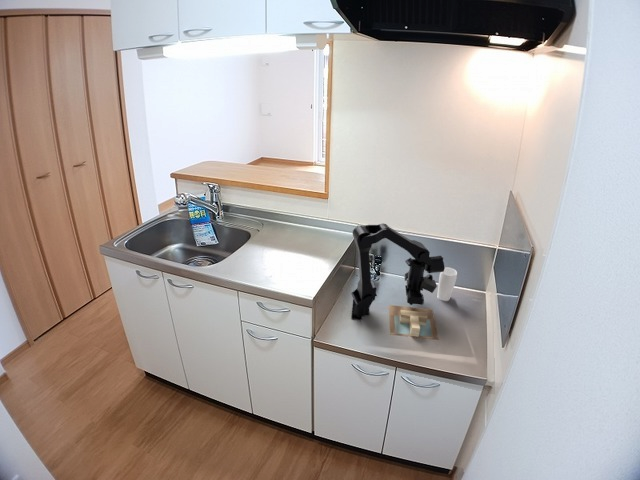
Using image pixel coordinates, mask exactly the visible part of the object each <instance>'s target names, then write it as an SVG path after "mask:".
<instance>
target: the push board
mask: <svg viewBox="0 0 640 480" xmlns="http://www.w3.org/2000/svg"><path fill="white" fill-rule="evenodd" d="M401 310H406V311H417V312H426V313H427V322H426V325H420V332H419V337H416V336H410V328H409V324H408V323H400V312H401ZM388 314H389V315H388V316H389V318H388V319H389V320H388V321H389V335H392V336H400V337H410V338H411V337H412V338H419V339H429V340H438V341H439V340H440V339H439V338H440V337H439V334H438V330H437V324H436V320H435V316H434V310H433V309H431V308H423V307H422V308H421V307H412V306H400V305H391V304H388Z"/></svg>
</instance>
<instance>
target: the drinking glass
mask: <svg viewBox="0 0 640 480" xmlns="http://www.w3.org/2000/svg"><path fill="white" fill-rule="evenodd" d="M444 267H445V269H444V271H443V272H439V276H438V285H437V294H436V296H437V299H438V300H440V301H442V302H448V301H450V299H451V296H452V294H453V289H454V287H455V284H456V281H457V276H458V271H457V270H456V269H455V268H453V267H447V266H444Z"/></svg>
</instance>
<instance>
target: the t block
mask: <svg viewBox="0 0 640 480" xmlns="http://www.w3.org/2000/svg"><path fill="white" fill-rule="evenodd" d="M426 322H427V313H426V312H417V311H406V310H401V312H400V323H408V324H409V328H410V336H416V337H415V338H418V337H419V332H420V325H426Z"/></svg>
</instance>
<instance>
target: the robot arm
mask: <svg viewBox="0 0 640 480" xmlns="http://www.w3.org/2000/svg"><path fill="white" fill-rule="evenodd" d="M352 237H353V240H354V243H355V246H356V249H357V258H358V262H357V263H358V273H359V281H358V283H357V287H356V288H355V290H353V291H352V292H351V297H352V306H351V307H352V308H351V317H350V318H351V319H352V320H363V317H364V316H369V315H370V307H371V305H372V304H373V302H374V301H376V297H377V296H378V295H377V286H376V284H375V282H374V281H373V279H372V277H371V262H370V261H371V260H370V250H371V249H372V247H373V246H372V245H374V244H377V243H378V242H380V241H382V240H384V239H387V240H389V241H390V242H391V243H393V244H395V245H397V246H398V247H399V248H401V249H403V250H405V251H406V252H408V254H410V255H411V256H412V257H409V258H408V259H406V260H405V263H406V265H407V266H408V267H409V268H408V269H409V270H408V271H407V272H406V273H404V277H403V278H404V282H406V284H405V285H404V287H405V295H406V303H408V304H409V306H412V305H420V306H423V305H424V302H425V299H424V298H425V297H424V294H423V293H422V292H421V291H423V290H426V291H427V292H429V293H431V294H433V292H435V290H436V289H437V288H438V285H437V282H436V281H435V279H434V277H433V274H437V273H440V272H443V271H444V269H445V267H446V266H445V262H444V257H443V256H442V255H437V256H436V255H435V256H430V251H429V249H427V247H426V246H425V245H424V243H422V242H420V241H419V240H418V241H417V240H413V239H410V238H408V237H406V236H405V235H403V234H402V233H400V232H399V231H397V230H395V229H393V228H392V227H391V226H388V225H387V224H386V223H379V224H365V225H358V226H356V227H355V228H354V229H353V230H352ZM425 272H426V273H428V274H427V275H425ZM424 275H425V276H424Z"/></svg>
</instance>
